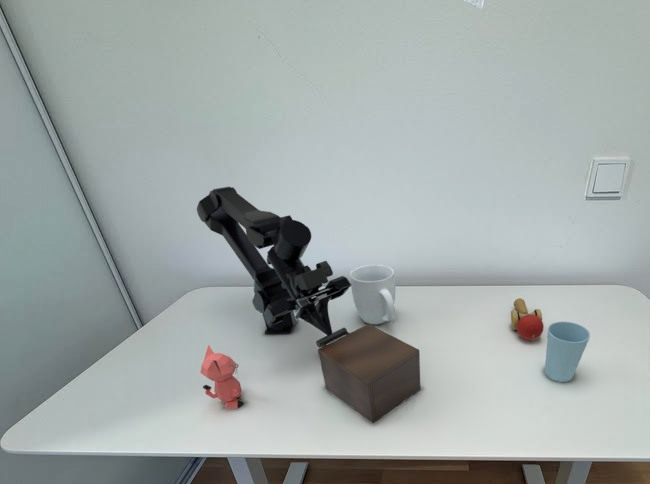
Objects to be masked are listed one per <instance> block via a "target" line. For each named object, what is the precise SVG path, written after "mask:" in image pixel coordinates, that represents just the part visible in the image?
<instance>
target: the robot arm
mask: <svg viewBox="0 0 650 484" xmlns="http://www.w3.org/2000/svg"><path fill="white" fill-rule="evenodd" d="M196 212H197V215H198V217H199V220H200V221H201V222H202V223H204V224H205V225H206V226H207V228H208V229H209V230H210V231H212V232H213V233H216V234H217V235H220V236H222V237H223V238H224V240H225V241H226V242H227V244H228V245H229V247H230V248H231V249H232V251H233V252H234V254H235V256H237V258H238V260H239V261H240V262H241V264H242V265H243V267H244V268H245V270H246V271H247V272H248V274H249V275H250V277H251V278H252V279H253V293H254V296H253V298H252V299H251V300H252V302H251V303H252V305H253V307H254V310H256V311H257V312H259V313H260V314H262V318H263V321H264V324H265V328H266V329H264V334H265V335H270V334H271V335H277V334H279V335H280V334H290V333H292V331H293V329H294V327H295V325H296V324H297V320H299V319H301V320H303V321H304V322H306V323H308V324H309V325H311V326H313V327H314V328H316V329H317V330H319V331H320V332H322V333H323V334H324V335H325V336H327V335H330V334H332V333H333V330H332V324H331V320H330V314H329V302H330V301H333V300H336V299H338V298H341V297H343V296H344V295H345V294H346V292H347V291H348V290H349V289H350V288H351V281H350V279H348V278H347V277H346V276H344V275H341V276H339V277H336V278H333V279H330V280H329V279H328V278H329V277H331V276H333V275H334V271H333V268H332V267H331V265H330V264H329V262H328V261H327V260H324V261H320V262H317V263H316V264H315V269H311V267H310V266H309V265H308V264H307V265H305V264H304V263H303V260H302V259H301V258H303V256H304V255H305V252H306V251H307V248H308V246H309V244H310V243H311V240H312V232H311V229H310V228H309V226H307V225H306V224H304V223H303V222H302V221H300V220H295V219H293V218H292V216H291V215H289V214H288V215H284V216H279V215H278V214H276V213H275V212H272V211H265V210H260V209H258V208H257V207H255V206H254V205H253V204H252V203H250V202H249V201H248V200H247V199H245V198H244V197H243V196H242V195H240V194H239V193H238V192H237V190H236V188H235V187H233V186H224V187H217V188H213V189H212V190H210V191H209V193H208V195H206V196H204V197H203V198H202V199H200V200H199V201H198V204H197V206H196ZM242 227H243V228H242ZM244 229H245V230H244ZM268 247H270V249H269V250H268V251H267V256H266V260H265V258H264V257H263V256H262V254H261V253H260V252H259V250H261V249H264V248H268ZM270 265H271V266H272V267H270ZM325 284H326V285H325ZM323 285H325V287H324V288H322V287H323ZM295 314H296V315H295Z"/></svg>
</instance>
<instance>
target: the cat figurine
mask: <svg viewBox="0 0 650 484" xmlns="http://www.w3.org/2000/svg"><path fill="white" fill-rule="evenodd" d="M238 367H239V363H237V362H235V360H234V359H233V358H232V357H230V356H228V355H227V354H224V353H221V352H216V353H214V351H213V350H212V348H211V346H210V344H207V348H206V351H205V355H204V358H203V361H202V364H201V367H200V372H199V373H200V374H202V376H204V377H205V378H207V379H209V380H210V381H211V382H214V392H212V391H211V390H212V389H213V387H212V386H210V385H208V384H205V385H203V386H202V388H203V389H204V393H205V395H207V396H208V397H210V398H212V399H218V400H220V401H221V402H222V403H224V404H225V406H224V409H228V410H234V409H235V410H236V409H237V410H238V409H240V408H241V407H243V406H244V401H242V400H240V399H238V398H239V397H241V395H242V386H241V381H239V380H238V378H236V377H235V375H236V374H239V373H238V372H239V371H238Z"/></svg>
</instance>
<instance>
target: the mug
mask: <svg viewBox="0 0 650 484" xmlns="http://www.w3.org/2000/svg"><path fill="white" fill-rule="evenodd" d="M395 279H396V277H395V271H394V269H393V268H392V267H390V266H388V265H386V264H378V263H377V264H375V263H372V264H364V265H361V266H357V267H355V268H354V269H351V271H350V272H349V282H350V283H351V286H350V288H351V294H352V299H353V303H354V305H355V306H354V307H355V308H356V312H357V313H358V315H359V317H360V319H362V320H363V321H364V322H365V323H366V324H370V325H381V324H385V323H386V322H391V321H394V320H395V318H396V307H395V304H396V280H395Z"/></svg>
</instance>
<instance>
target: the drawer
mask: <svg viewBox="0 0 650 484" xmlns="http://www.w3.org/2000/svg"><path fill="white" fill-rule="evenodd" d="M349 333H350V332H349V331H348V329H347V328H346V327H342V328H339V329H338V330H336V331H332V334H330V335H325V336H323V337H321V338H319V339H317V340H315V345H316V346H317V347H318V349H319V348H321V347H323V346H325V345H327V344H329V343H331V342H333V341H335V340H337V339H339V338H341V337H343V336H345V335H347V334H349ZM317 354H318V355H319V352H318V351H317ZM318 357H319V356H318ZM319 359H320V357H319ZM319 363H320V364H321V362H320V361H319ZM320 367H321V366H320ZM321 369H322V367H321ZM321 373H322V374H323V372H322V371H321ZM322 376H323V375H322ZM323 378H324V376H323Z"/></svg>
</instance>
